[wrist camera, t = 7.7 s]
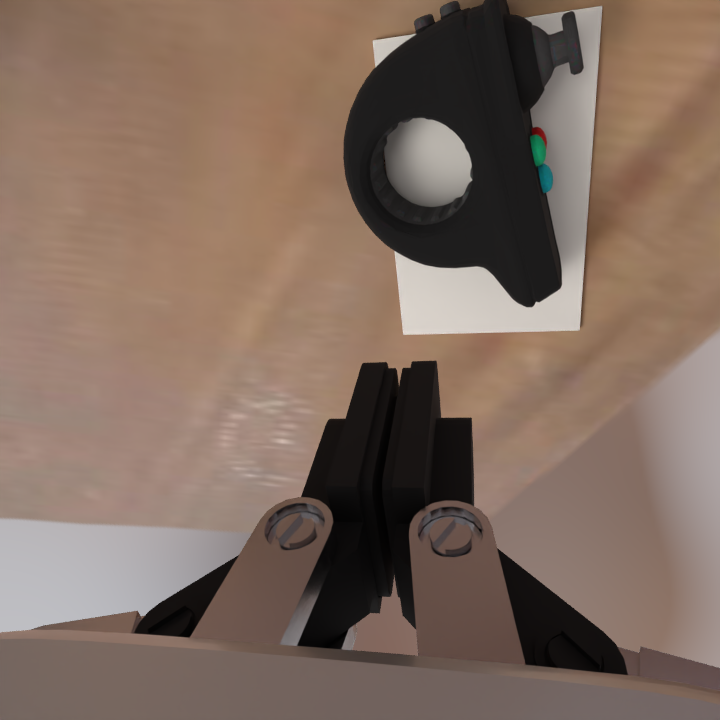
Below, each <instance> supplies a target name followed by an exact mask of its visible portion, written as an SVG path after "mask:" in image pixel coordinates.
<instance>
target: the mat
mask: <svg viewBox="0 0 720 720" xmlns="http://www.w3.org/2000/svg"><path fill="white" fill-rule="evenodd" d="M571 11H573V12H574V13H575V17H576V22H577V28H578V33H579V40H580V46H581V52H582V58H583V65H584V69H583V70H582V72H581V73H579V74H576V75H573V74H571V72H570V66H569V62H568V63H565V64H562V65H560V66H557V67H556V68H554V71H553V74H552V76H551V78H550V80H549V81H548V83H547V84H546V86H545V87H544V92H543V94H542V95H541V97H540V99H539V100H538V102H537V103H536V104H535V105H534V106H533V107H532V108H531V109H530V112H531V119H532V126H533V128H534V127H539V128H541V129H542V130H543V131H544V133H545V135H546V139H547V148H546V158H545V161H544V164H546V165H548V166H549V168H550V169H551V171H552V174H553V185H552V188H551V190H550V191H549V192H547V193H546V194H547V199H548V203H549V208H550V213H551V218H552V223H553V228H554V233H555V237H556V242H557V246H558V250H559V254H560V260H561V267H562V286H561V288H560V289H559V290H558V291H557V292H555V293H553V294H552V295H550V296H549V297H547V298H546V299H544V300H543V301H541V302H536V303H535V305H534V306H533V307H525V306H523V305H520V304H518V303H517V302H515V301H514V300H513V299H512V298H511V297H510V296H509V294H508V293H507V292H506V291H505V289H504V288H503V287H502V286H501V284H500V283H499V282H498V281H497V280H496V278H495V277H494V276H493V275H492V274H491V273H490V272H489V271H488V270H487V269H485V268H482V267H466V268H438V267H432V266H427V265H423V264H420V263H418V262H415V261H412V260H410V259H408V258H406V257H404V256H402V255H400V254H399V253H397V252H396V251H395V259H396V269H397V279H398V288H399V298H400V308H401V317H402V327H403V335H415V334H456V333H496V332H537V331H578V330H580V317H581V303H582V289H583V275H584V260H585V246H586V232H587V218H588V204H589V189H590V175H591V161H592V147H593V132H594V118H595V104H596V90H597V76H598V61H599V47H600V33H601V19H602V6H598V7H591V8H584V9H578V10H571ZM567 12H570V11H564V12H558V13H551V14H545V15H538V16H531V17H525V19H527V20H529V21H530V22H532V25H535V26H538V27H539V28H541V29H542V30H544V31H545V32H546V33H547V34H554V33H557V32H559V31H562V30H563V26H562V20H561V18H562V16H563V14H565V13H567ZM414 35H416V34H412V35H406V36H399V37H392V38H386V39H379V40H373V48H374V58H375V67H377V65H378V64H379V63H380V62H381V61H383V60H384V59H385V58H386V57H387V56H388V55H389V54H390V53H391V52H392V51H393V50H395V49H396V48H397V47H399V46H400V45H401V44H403V43H404V42H405V41H407V40H408V39H410V38H411V37H413V36H414ZM384 154H385V163H386V173H387V178H388V180H389V182H390V183H391V185H392V186H393V187H394V189H395V190H396V191H397V193H398V194H400V195H401V196H402V197H403V198H405V199H406V200H408V201H410V202H411V203H414V204H417V205H420V206H425V207H437V206H443V205H446V204H449V203H451V202H453V201H454V200H455V199H456V198H458V197H461V196H462V195H463V194H464V193H465V190H466V188H467V186H468V184H469V183H470V182H471V181H472V178H471V176H470V171H471V167H472V164H471V159H470V156H469V153H468V152H467V150H466V149H465V145H464V143H463V142H462V140H461V139H460V138H459V137H458V136H457V134H456V133H455V132H453V131H452V130H451V129H449V127H447V126H446V125H444V124H442V123H440V122H437V121H435V120H428V119H425V118H413V119H412V120H410V121H409V122H406V123H403V122H399V123H398V127H397V128H396V129H395V130H394V131H393V132H392V133H390V134H389V135H388V137H387V144H386V146H385V147H384Z"/></svg>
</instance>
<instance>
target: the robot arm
mask: <svg viewBox="0 0 720 720" xmlns="http://www.w3.org/2000/svg"><path fill="white" fill-rule="evenodd" d="M394 575H395V581H396V588H397V594H398V597H400V600H401V607H402V613H403V616H404V617H405V618H406V619H407V620H408V622H409V623H411V625H412V626H413V627H414V628H415V629H416V633H417V646H418V656H415V655H403V654H391V653H378V652H366V651H354V650H352V648H353V645H354V642H355V638H356V632H357V626H356V623H357V622H359V621H360V620H361V619H363V618H364V617H366V616H367V615H368V614H369V613H380V608H381V601H382V596H384V597H390V596H391V594H392V587H393V579H394ZM0 720H720V668H718V667H714V666H710V665H707V664H703V663H699V662H695V661H692V660H688V659H685V658H681V657H677V656H674V655H670V654H666V653H662V652H659V651H655V650H652V649H648V648H644V647H640V652H639V653H638V652H634V651H630V650H627V649H623V648H620V647H617V645H616V644H615V643H614V642H613V641H612V640H611V639H610V638H609V637H608V636H607V635H606V634H605V633H604V632H603V631H602V630H600V629H599V628H598V627H596V626H595V625H594V624H593V623H591V622H590V621H589V620H588V619H586V618H585V617H584V616H583V615H581V614H580V613H579V612H578V611H576V610H575V609H574V608H572V607H571V606H570V605H568V604H567V603H566V602H565V601H564V600H562V599H561V598H560V597H558V596H557V595H556V594H555V593H553V592H552V591H551V590H550V589H548V588H547V587H545V585H543V584H542V583H541V582H539V581H538V580H537V579H536V578H534V577H533V576H532V575H531V574H529V573H528V572H527V571H525V570H524V569H523V568H522V567H520V566H519V565H518V564H517V563H515V562H514V561H513V560H512V559H510V558H509V557H508V556H506V555H505V554H504V553H503V552H501V551H500V550H499V549H498V548H497V546H496V542H495V538H494V534H493V529H492V526H491V524H490V522H489V520H488V518H487V517H486V516H485V515H484V514H483V512H482V511H481V510H479V509H478V508H476V507H474V469H473V439H472V418H441V410H440V397H439V383H438V370H437V362H436V361H413V362H412V364H411V368H403V369H402V374H401V380H400V385H399V383H398V375H397V370H396V368H388V364H387V362H379V363H363V364H362V366H361V369H360V372H359V376H358V379H357V382H356V386H355V389H354V392H353V396H352V399H351V402H350V406H349V409H348V412H347V416H346V419H329V420H328V422H327V424H326V426H325V429H324V432H323V435H322V438H321V441H320V444H319V447H318V449H317V452H316V455H315V458H314V461H313V464H312V467H311V470H310V473H309V476H308V479H307V482H306V484H305V487H304V490H303V493H302V496H301V497H297V498H293V499H288V500H285V501H283V502H281V503H278V504H276V505H275V506H274V507H272V508H271V509H270V510H268V511H267V512H266V513H265V514H264V516H263V517H262V518H261V519H260V521H259V523H258V524H257V526H256V528H255V529H254V531H253V533H252V534H251V536H250V538H249V539H248V541H247V543H246V544H245V546H244V548H243V549H242V551H241V553H240V554H239V555H238V556H237V557H235V558H234V559H232V560H230V561H228V562H227V563H225V564H224V565H222V566H220V567H218V568H217V569H215V570H213V571H212V572H210V573H209V574H207V575H205V576H204V577H202V578H200V579H199V580H197V581H195V582H194V583H192V584H190V585H189V586H187V587H185V588H184V589H182V590H180V591H179V592H177V593H176V594H174V595H172V596H171V597H169V598H167V599H166V600H164V601H162V602H161V603H159V604H158V605H157V606H155V607H154V608H153V609H151V610H150V611H149V612H148V613H147V614H146V615H145V616H140V614H139V612H138V611H133V612H127V613H121V614H114V615H108V616H102V617H95V618H89V619H82V620H76V621H70V622H63V623H57V624H51V625H45V626H41V627H38V628H34V629H31V630H25V631H12V632H1V633H0Z"/></svg>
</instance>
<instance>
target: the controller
mask: <svg viewBox="0 0 720 720" xmlns="http://www.w3.org/2000/svg"><path fill="white" fill-rule="evenodd" d="M440 14H441V20H440V21H438V22H435V21H434V18H433V15H431V14H428V15H425V16H422V17H420V18H418V19H416V20H415V21H414V25H415V29H416V35H414V36H413V37H411V38H410V39H408V40H407V41H405V42H404V43H403V44H401V45H400V46H399V47H397V48H396V49H395V50H393V51H392V52H391V53H390V54H389V55H388V56H387V57H386V58H385V59H384V60H383V61H381V62H380V63H379V64H378V65H377V67H376V68H375V69H374V70H373V71H372V72H371V73H370V75H369V76H368V77H367V79H366V80H365V82H364V84H363V85H362V87H361V88H360V90H359V92H358V94H357V97H356V99H355V101H354V103H353V106H352V108H351V110H350V114H349V118H348V121H347V125H346V130H345V136H344V167H345V176H346V180H347V184H348V187H349V190H350V193H351V196H352V199H353V202H354V204H355V206H356V208H357V210H358V212H359V213H360V215H361V216H362V218H363V220H364V221H365V223H366V224H367V225H368V226H369V228H370V229H371V230H372V231H373V233H374V234H375V235H376V236H377V237H378V238H379V239H380V240H381V241H382V242H384V243H385V244H386V245H387V246H388V247H390V248H391V249H393V250H394V251H396V252H397V253H399V254H400V255H402V256H404V257H406V258H408V259H410V260H412V261H415V262H418V263H420V264H423V265H427V266H432V267H438V268H466V267H482V268H485V269H487V270H488V271H489V272H490V273H491V274H492V275H493V276H494V277H495V278H496V280H497V281H498V282H499V283H500V284H501V286H502V287H503V288H504V289H505V291H506V292H507V293H508V294H509V296H510V297H511V298H512V299H513V300H514V301H515V302H517V303H518V304H520V305H523V306H525V307H533V306H534V305H535V303H536V302H541V301H543V300H544V299H546V298H547V297H549V296H550V295H552V294H553V293H555V292H557V291H558V290H559V289H560V288H561V286H562V267H561V260H560V254H559V250H558V246H557V242H556V237H555V233H554V228H553V223H552V218H551V213H550V208H549V203H548V199H547V194H546V193H547V192H549V191H550V190H551V188H552V185H553V174H552V171H551V169H550V168H549V166H548V165H546V164H544V161H545V158H546V148H547V139H546V135H545V133H544V131H543V130H542V129H541V128H539V127H534V128H533V126H532V119H531V112H530V109H531V108H532V107H533V106H534V105H535V104H536V103H537V102H538V100H539V99H540V97H541V95H542V94H543V92H544V87H545V86H546V84H547V83H548V81H549V80H550V78H551V76H552V74H553V71H554V68H556V67H557V66H560V65H562V64H565V63H568V62H569V66H570V72H571V74H573V75H576V74H579V73H581V72H582V70H583V69H584V65H583V58H582V52H581V46H580V40H579V33H578V28H577V22H576V17H575V13H574V12H573V11H570V12H567V13H565V14H563V16H562V18H561V20H562V26H563V30H562V31H559V32H557V33H554V34H547V33H546V32H545V31H544V30H542V29H541V28H539V27H538V26H535V25H532V22H530V21H529V20H527V19H525V18H524V17H520V16H517V15H510V13H509V8H508V4H507V1H506V0H485V1H484V3H483V4H482V5H480V6H477V7H474V8H472V9H470V8H467V9H464V10H461V9H460V5H459V2H458V1H453V2H450V3H447V4H445V5H443V6H442V7H441V8H440ZM413 118H425V119H428V120H435V121H437V122H440V123H442V124H444V125H446V126H447V127H449V129H451V130H452V131H453V132H455V133H456V134H457V136H458V137H459V138H460V139H461V140H462V142H463V143H464V145H465V149H466V150H467V152H468V153H469V156H470V159H471V164H472V167H471V171H470V176H471V178H472V181H471V182H470V183H469V184H468V186H467V188H466V190H465V193H464V194H463V195H462V196H461V197H458V198H456V199H455V200H454V201H453V202H451V203H449V204H446V205H443V206H437V207H425V206H420V205H417V204H414V203H411V202H410V201H408V200H406V199H405V198H403V197H402V196H401V195H400V194H398V193H397V191H396V190H395V189H394V187H393V186H392V185H391V183H390V182H389V180H388V178H387V175H386V171H385V168H384V160H383V153H384V147H385V146H386V144H387V137H388V135H389V134H390V133H392V132H393V131H394V130H395V129H396V128H397V127H398V123H399V122H403V123H406V122H409V121H410V120H412V119H413Z"/></svg>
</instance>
